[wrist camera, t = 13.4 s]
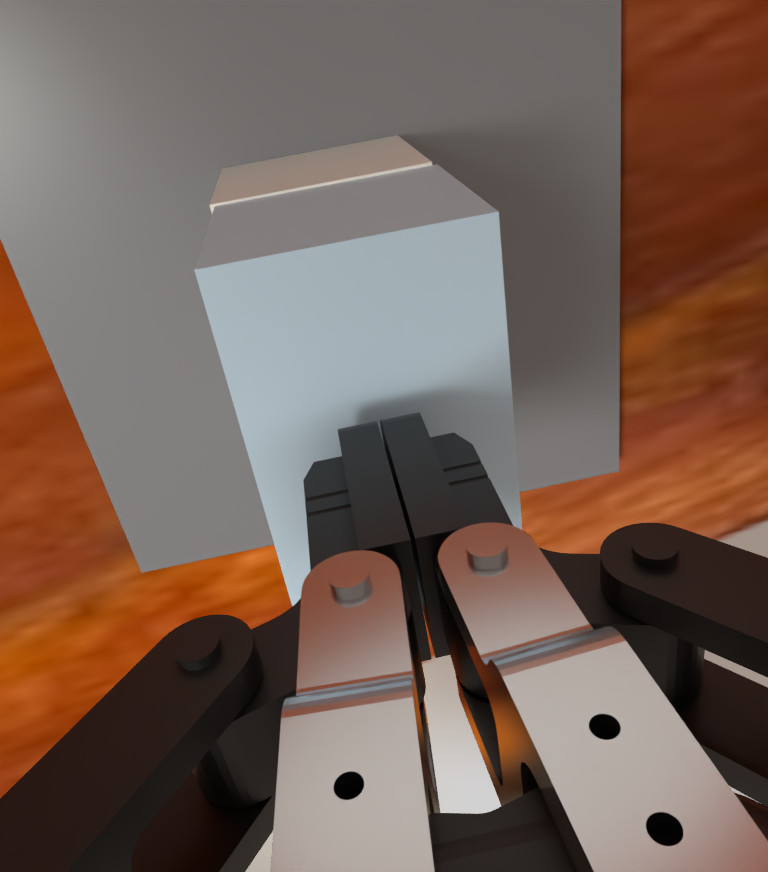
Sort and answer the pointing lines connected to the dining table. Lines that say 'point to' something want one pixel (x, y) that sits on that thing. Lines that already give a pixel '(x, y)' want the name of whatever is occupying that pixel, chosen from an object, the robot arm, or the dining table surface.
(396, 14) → the charcoal baseplate
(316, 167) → the cream base brick
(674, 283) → the dining table surface
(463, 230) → the pale blue brick
